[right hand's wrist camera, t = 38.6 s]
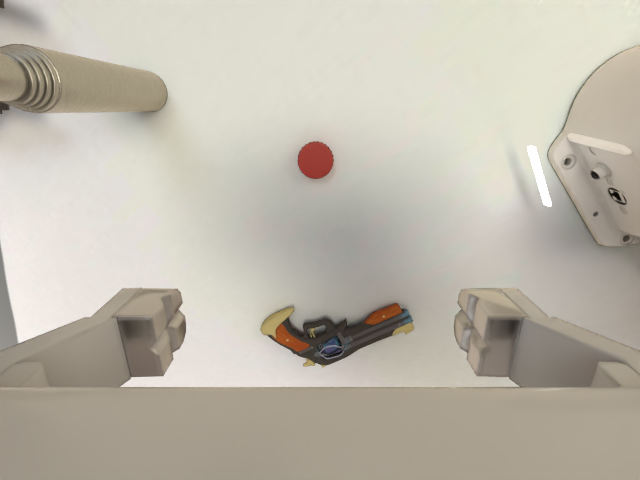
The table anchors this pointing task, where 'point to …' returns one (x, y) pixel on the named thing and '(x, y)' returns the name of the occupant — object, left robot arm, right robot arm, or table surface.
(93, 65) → the bottle
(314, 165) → the cap
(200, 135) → the table surface
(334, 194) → the table surface
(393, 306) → the toy gun
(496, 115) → the table surface
